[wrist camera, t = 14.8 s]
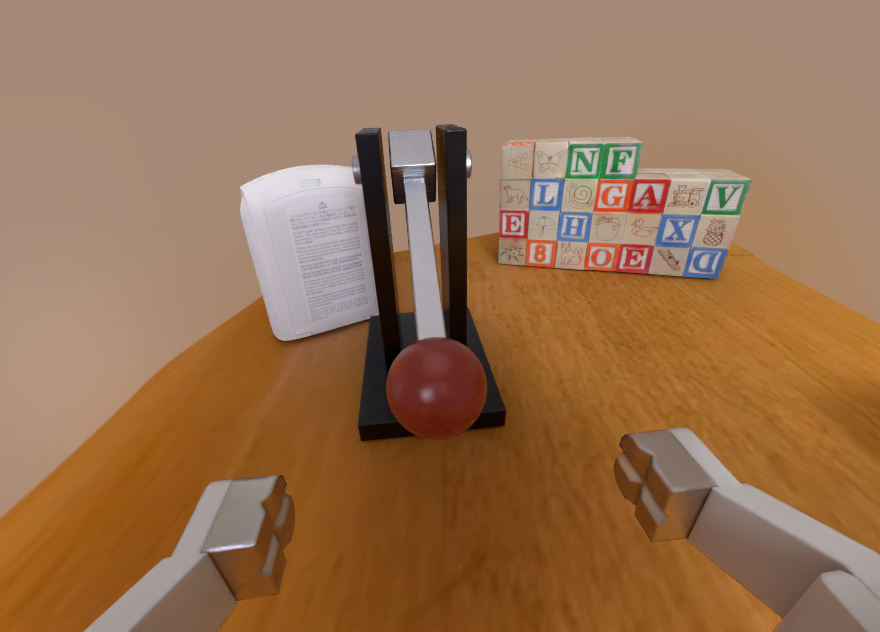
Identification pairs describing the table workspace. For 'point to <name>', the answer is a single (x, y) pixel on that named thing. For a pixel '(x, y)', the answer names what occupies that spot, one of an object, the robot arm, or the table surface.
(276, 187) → the photo printer
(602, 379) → the table surface
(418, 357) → the lever
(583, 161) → the stack of blocks
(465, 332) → the bracket
